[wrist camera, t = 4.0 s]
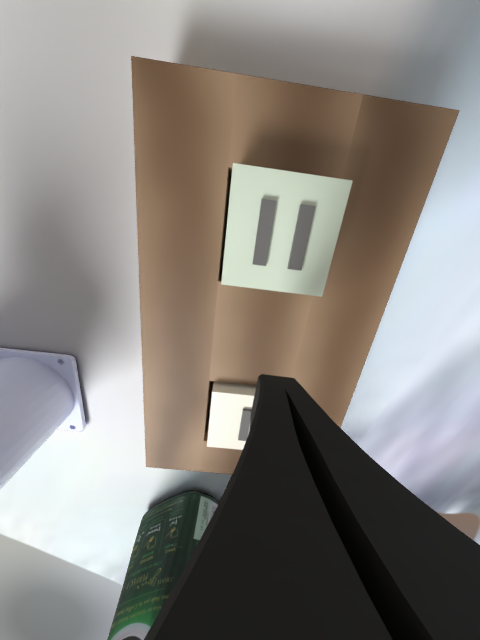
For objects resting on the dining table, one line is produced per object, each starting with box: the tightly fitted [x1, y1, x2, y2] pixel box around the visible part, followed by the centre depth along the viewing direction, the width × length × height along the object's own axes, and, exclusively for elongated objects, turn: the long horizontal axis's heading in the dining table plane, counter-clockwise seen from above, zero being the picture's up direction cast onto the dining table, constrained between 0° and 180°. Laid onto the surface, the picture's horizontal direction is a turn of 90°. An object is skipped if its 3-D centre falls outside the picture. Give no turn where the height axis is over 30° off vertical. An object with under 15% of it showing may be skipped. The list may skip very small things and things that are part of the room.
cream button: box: [207, 381, 256, 450], centre depth 17 cm, size 5×5×4 cm
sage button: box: [221, 163, 353, 297], centre depth 11 cm, size 5×5×4 cm
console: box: [131, 56, 459, 474], centre depth 16 cm, size 14×24×4 cm, turn 173°
